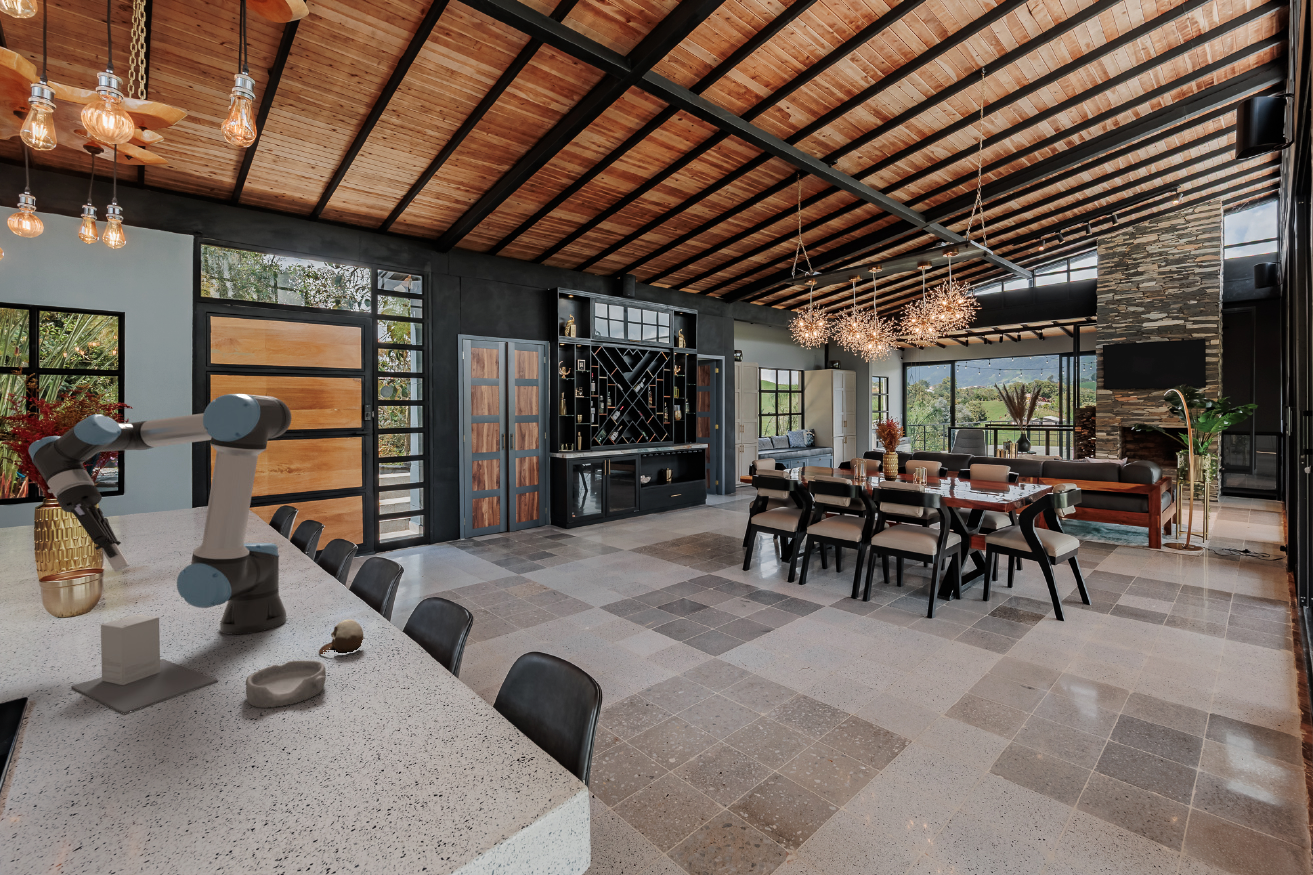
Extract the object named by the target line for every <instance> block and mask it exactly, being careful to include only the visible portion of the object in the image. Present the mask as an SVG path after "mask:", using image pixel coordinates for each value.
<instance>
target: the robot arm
mask: <svg viewBox="0 0 1313 875" xmlns="http://www.w3.org/2000/svg"><path fill="white" fill-rule="evenodd" d="M291 423H292V413H291V409H290V408H289V407H288V405H287V404H286V403H285V402H283V400H281V399H279V398H276V397H275V396H269V395H256V394H246V393H229V394H223V395H220V396H218V397H216V398H215V399H213V400H212V401H211V402H209V403H208V405H207V406H206V408H205V410H204V412H203V413H197V414H190V415H189V414H188V415H180V416H173V417H166V418H158V419H150V420H144V421H143V420H142V421H135V422H117V421H116V420H115V419H113V418H111V417H109V416H104V414H99V413H98V414H96V413H95V414H92V415H91V414H90V415H89V416H88V417H86V418H84V419H82V420H81V421H79V422H78V423H76V424H75V425H74V426H72V428H69V430H67V432H65V433H64V434H63V435H61V436H60V435H59V436H58V435H53V436H46V437H42V438H41V439H39V440H36V441H33V442H32V443H31V444H30V445H29V447H28V454H29V456H30V458H31V460H32V463H33V465H34V466H35V467H36V469H37V470H38V472H39V473H40V475H41V477H42V478H43V479H44V481H45V484H46V485H47V486H48V487H49V489H47V492H48V493H50V494H52V495H53V496H54V497H55V498H56V501H57V503H58V506H60V508H61V510H62V511H63V512H66V513H72V515H73V516H75V518H76V519H77V521H78V522H79V523H80V525H81V526H82V528H83V529H84V531H85V532H86V534H88V536H89V538H90V539H91V540H92V543H93V544H95V545H97V546H94V549H95V550H96V551H98V550H101V551H102V554H103V555H104V556H105V558H106V560H107V562H108V564H109V565H110V566H111V568H112V570H113V571H114V572H115V573H119V571H122V570H124V569H126V568H128V567H130V566H131V565H130V563H129V562H128V560H127V559H126V557H125V555H124V554H123V552H122V551H121V549H120V547H119V546H120V545H121V544H122V542H121V541H120V540H118V538H117V536H116V535H115V532H114V531H113V529H112V527H111V525H110V523H109V519H108V518H107V517H104V515H103V511H102V509H101V508H100V507H97V505H98V504H99V503H100V502H101V501H102V499H103V498H102V495H101V493H100V491H99V490H98V488H97V486H96V485H95V482H94V480H93V479H92V477H91V476H90V474H89V473H88V471H87V470H86V468H85V467H84V465H83V464H84V462H87V461H89V459H91V458H92V457H94V456H95V455H96V454H98V453H101V452H119V451H120V452H121V451H143V450H144V451H145V450H146V451H147V450H150V449H153V448H157V447H166V446H174V445H182V444H189V443H196V442H204V441H205V442H206V441H210V446H211V447H212V448H213V449H214V450H215V451H216V455H215V461H214V466H213V473H212V479H211V484H210V485H211V487H210V492H209V493H210V494H209V498H208V503H207V504H208V505H207V511H206V516H205V517H206V518H205V522H204V523H205V524H204V530H203V536H202V542H201V544H200V545H199V546H198V547H196V548H194V549H193V551H192V557H191V561H190V562H191V563H190V564H188V565H186V566H185V568H184V569H182V570H181V571H180V572H179V574H178V575H177V579H176V588H177V592H178V594H179V596H180V597H181V598H183V600H184V601H185V603H187V604H189V605H190V606H192V607H195V608H200V609H207V608H212V607H216V606H220V605H223V604H225V603H226V606H225V609H224V612H223V613H222V614H223V615H222V617H221V619H220V623H219V624H220V625H219V626H220V628H219V630H220V632H221V633H223V634H227V635H246V634H254V633H258V632H263V631H267V630H270V629H275V628H276V627H279V626H281V625H283V624H285V623H286V622H287V610H286V609H285V606H284V604H283V602H282V599H281V596H280V594H279V590H280V589H279V585H280V582H279V576H280V575H279V574H280V573H279V571H280V568H279V566H280V565H279V562H280V560H279V558H280V554H279V547H278V545H277V544H276V543H272V542H247V543H246V542H245V537H246V531H247V528H248V520H249V514H250V509H251V508H250V506H251V502H252V495H253V490H254V483H255V476H256V470H257V465H258V464H257V463H258V459H259V458H258V457H259V455H260V454H262V453H264V451H267V446H268V441H269V439H275V438H277V437H280V436H282V435H283V434H285V433H286V432H287V430H288V429H289V428H290V426H291ZM278 625H279V626H278Z"/></svg>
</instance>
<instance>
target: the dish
mask: <svg viewBox="0 0 1313 875" xmlns="http://www.w3.org/2000/svg"><path fill="white" fill-rule="evenodd" d="M326 671H327V670H326V666H325V664H324V663H323V662H321V661H318V660H290V661H288V662H285V663H284V664H281V665H280V664H278V665H277V664H273V665H271V666H266V667H265V668H262V669H260V670H258V671H255V672H254V673H252V674H251V675H249V676H248V677H246V679H245V695H246V700H247V702H248V704H249V705H251V706H253V707H257V708H261V709H262V708H263V709H268V707H271V708H276V707H275V706H280V707H284V706H283V705H286V706H288V705H287V704H290V705H294V704H293V703H295V704H297V703H296V702H298V703H300V702H301V701H302V702H304V701H307V700H309V699H311V697H312V698H313V696H314V697H315V696H317V695H318V694H319V693H321V692H322V690H324V687H325V683H326V679H327V677H326V676H327V674H326V673H327V672H326ZM316 694H317V695H316ZM308 698H309V699H308ZM303 700H304V701H303Z"/></svg>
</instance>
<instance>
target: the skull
mask: <svg viewBox="0 0 1313 875" xmlns="http://www.w3.org/2000/svg"><path fill="white" fill-rule="evenodd" d="M330 635H331V638H332V641H330V642H328V643H326V644H325V645H323V646H322V647H320V649H319V650H318V654H319V655H320V654H323V652H327V651H326V650H336V652H338V653H347V652H353V651H354V650H357V649H358V648H359V647H360V646H361V643H362V640H363V639H366V638H364V630H363V628H362V625H361V624H360V623H358V622H357V620H355V619H344V620H342V621H340V622H338V623H337V624H336V625H335V626H334V627H333V631H332V632H331V633H330ZM329 648H330V649H329ZM323 650H324V651H323ZM328 652H329V651H328ZM334 652H335V651H334ZM324 654H325V653H324Z"/></svg>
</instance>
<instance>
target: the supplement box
mask: <svg viewBox="0 0 1313 875" xmlns="http://www.w3.org/2000/svg"><path fill="white" fill-rule="evenodd" d="M160 636H161V635H160V617H159V616H153V615H145V614H140V613H138V614H133V615H130V616H127V617H123V618H120V619H116V620H111V621H108V622H105V623H102V624H100V650H101V651H100V653H101V657H100V658H101V677H102V681H105V682H110V683H115V684H119V685H125V684H128V683H131V682H134V681H137V680H140V679H143V678H146V677H148V676H151V675H154V674H157V673H159V672H160V660H161V650H160V649H161V648H160V647H161V644H160V641H161V640H160Z"/></svg>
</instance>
